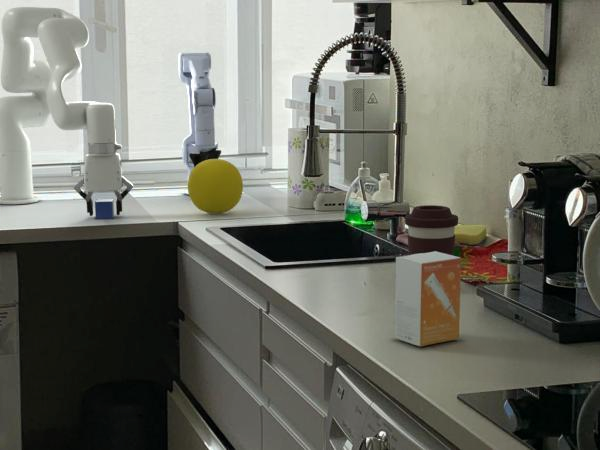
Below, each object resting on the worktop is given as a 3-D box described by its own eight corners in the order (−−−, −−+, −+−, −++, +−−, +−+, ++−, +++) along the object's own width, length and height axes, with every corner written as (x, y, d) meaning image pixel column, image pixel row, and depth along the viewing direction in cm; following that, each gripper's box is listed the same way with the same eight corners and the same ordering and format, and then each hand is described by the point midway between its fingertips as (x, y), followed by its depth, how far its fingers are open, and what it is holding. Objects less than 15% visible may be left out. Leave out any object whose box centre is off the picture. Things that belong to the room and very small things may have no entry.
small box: (420, 347, 157) (421, 263, 155) (394, 338, 162) (394, 256, 160) (460, 339, 162) (462, 256, 159) (433, 330, 167) (434, 250, 165)
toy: (233, 207, 298) (232, 155, 296) (250, 215, 284) (249, 160, 281) (182, 210, 293) (181, 157, 290) (196, 219, 279) (195, 163, 276)
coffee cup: (400, 280, 202) (400, 204, 200) (450, 279, 203) (451, 203, 201) (409, 292, 193) (410, 212, 190) (462, 291, 193) (463, 211, 191)
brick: (112, 218, 282) (112, 201, 281) (95, 219, 282) (94, 201, 281) (114, 215, 287) (113, 198, 286) (97, 216, 286) (96, 199, 286)
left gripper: (135, 147, 286) (137, 212, 289) (70, 148, 284) (74, 213, 287) (133, 150, 278) (136, 216, 281) (67, 151, 276) (70, 218, 279)
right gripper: (202, 127, 315) (203, 172, 317) (182, 131, 301) (183, 178, 303) (223, 128, 313) (224, 173, 315) (204, 131, 299) (205, 179, 301)
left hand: (104, 214), depth 284 cm, fingers open, 6 cm apart
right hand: (205, 175), depth 309 cm, fingers open, 7 cm apart
